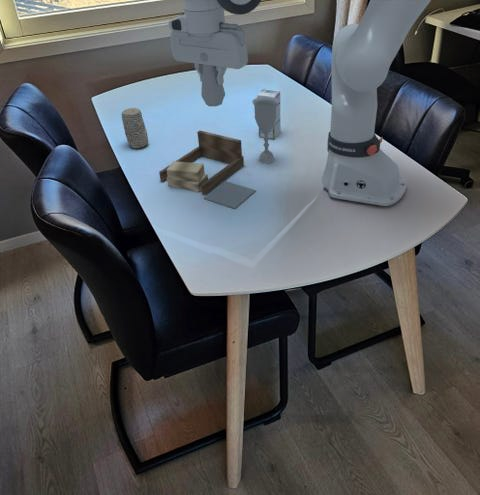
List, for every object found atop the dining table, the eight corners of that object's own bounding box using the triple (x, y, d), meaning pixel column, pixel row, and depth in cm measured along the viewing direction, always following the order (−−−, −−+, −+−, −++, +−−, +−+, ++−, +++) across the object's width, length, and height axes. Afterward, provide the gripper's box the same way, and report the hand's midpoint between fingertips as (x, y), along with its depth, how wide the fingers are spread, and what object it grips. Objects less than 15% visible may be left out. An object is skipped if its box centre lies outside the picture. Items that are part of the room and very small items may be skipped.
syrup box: (281, 133, 159) (281, 89, 150) (274, 140, 155) (274, 96, 146) (265, 130, 161) (264, 87, 152) (258, 138, 157) (256, 94, 148)
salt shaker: (222, 108, 117) (216, 52, 109) (200, 108, 119) (192, 53, 111) (228, 99, 122) (223, 45, 114) (206, 99, 123) (199, 45, 115)
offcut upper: (204, 173, 135) (203, 163, 133) (198, 182, 131) (197, 172, 129) (174, 170, 137) (173, 161, 135) (168, 179, 133) (166, 169, 132)
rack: (244, 165, 143) (242, 140, 138) (205, 195, 130) (202, 168, 126) (201, 154, 150) (198, 130, 145) (160, 181, 138) (156, 155, 133)
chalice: (283, 157, 145) (282, 99, 134) (271, 167, 141) (270, 107, 130) (262, 152, 149) (260, 95, 138) (250, 161, 144) (247, 103, 133)
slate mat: (255, 191, 130) (255, 190, 130) (235, 209, 124) (234, 207, 124) (225, 182, 135) (225, 181, 135) (204, 199, 129) (204, 197, 129)
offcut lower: (208, 183, 136) (207, 174, 134) (199, 193, 132) (197, 184, 130) (178, 177, 140) (177, 168, 138) (168, 187, 136) (166, 177, 134)
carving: (135, 140, 161) (128, 105, 154) (153, 144, 158) (147, 108, 151) (123, 148, 157) (115, 112, 150) (141, 152, 154) (134, 116, 146)
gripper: (251, 21, 105) (255, 84, 114) (180, 15, 116) (188, 73, 124) (234, 28, 102) (239, 93, 110) (162, 21, 112) (172, 81, 120)
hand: (212, 82), depth 117 cm, fingers closed on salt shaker, 3 cm apart
